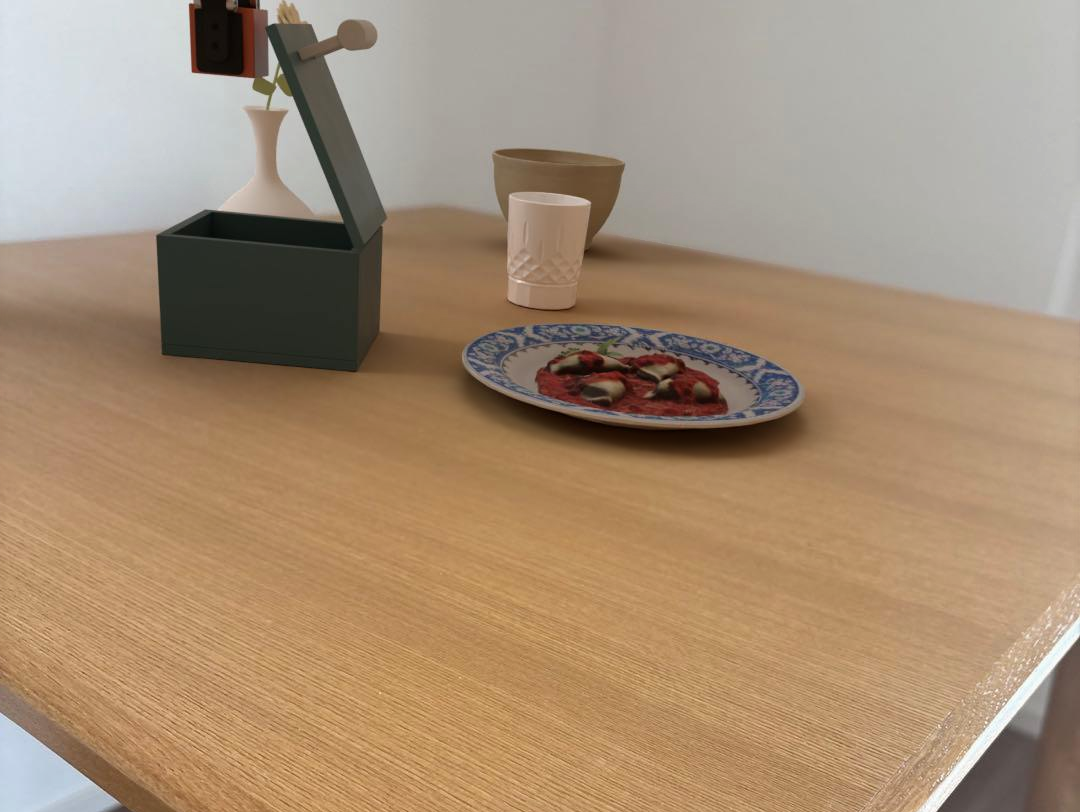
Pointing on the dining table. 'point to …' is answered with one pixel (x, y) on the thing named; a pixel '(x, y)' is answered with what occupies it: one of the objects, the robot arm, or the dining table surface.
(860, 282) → the dining table surface
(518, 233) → the white cup
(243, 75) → the block
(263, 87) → the flower in vase
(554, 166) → the planter bowl
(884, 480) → the dining table surface
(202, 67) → the robot arm
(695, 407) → the ceramic plate
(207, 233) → the chest
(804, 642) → the dining table surface
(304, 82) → the lid
